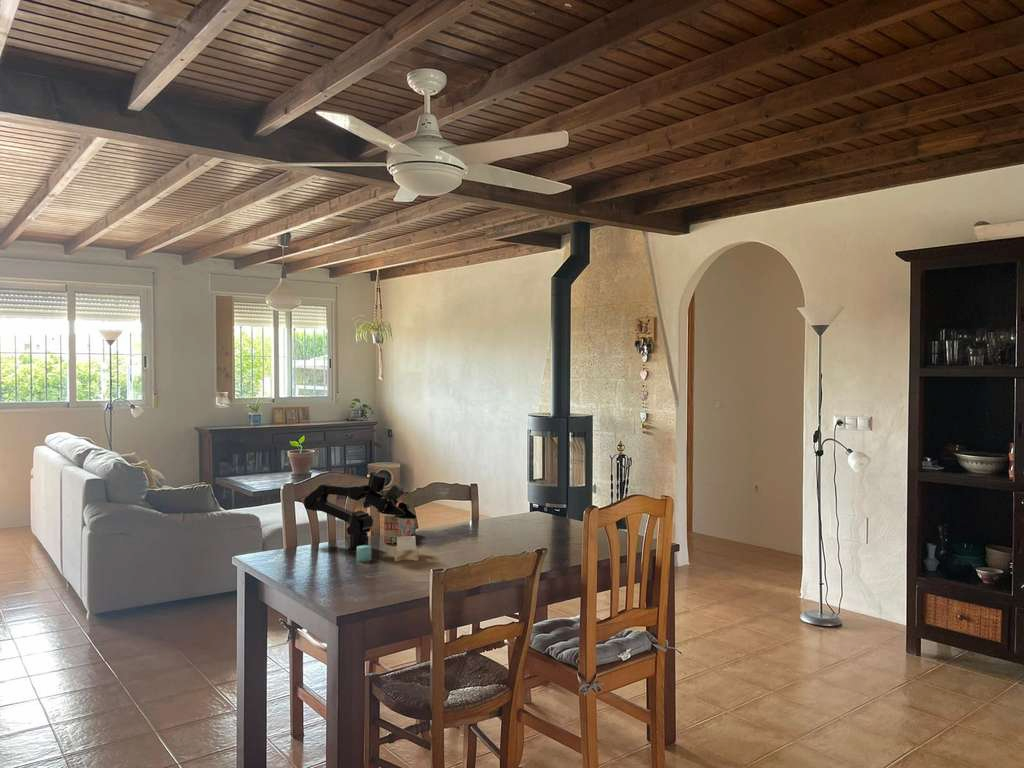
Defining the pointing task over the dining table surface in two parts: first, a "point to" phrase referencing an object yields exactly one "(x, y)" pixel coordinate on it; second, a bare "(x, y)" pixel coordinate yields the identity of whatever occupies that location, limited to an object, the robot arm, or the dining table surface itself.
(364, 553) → the seafoam tapered dome
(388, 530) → the beige printed box
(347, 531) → the robot arm
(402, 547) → the white upper slab
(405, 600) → the dining table surface
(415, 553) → the oak base slab
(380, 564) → the dining table surface
